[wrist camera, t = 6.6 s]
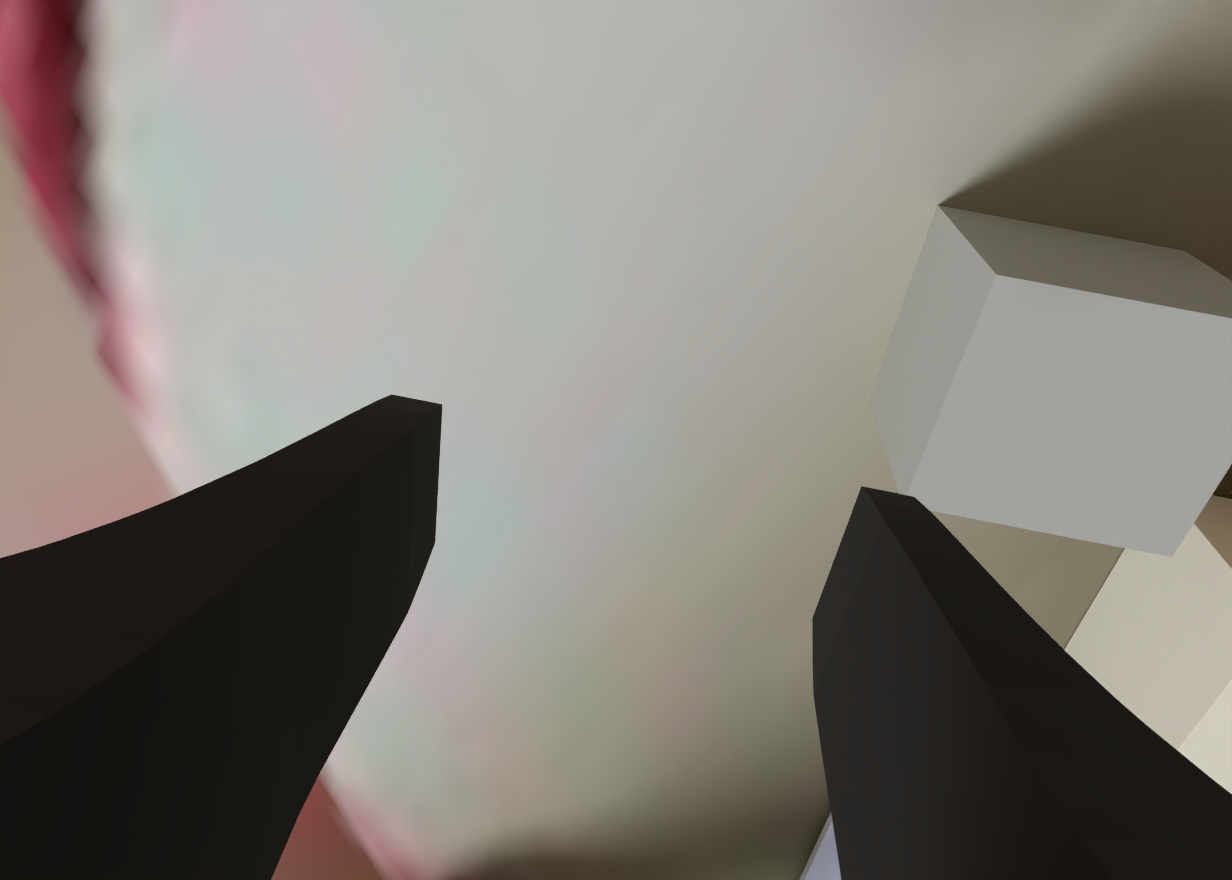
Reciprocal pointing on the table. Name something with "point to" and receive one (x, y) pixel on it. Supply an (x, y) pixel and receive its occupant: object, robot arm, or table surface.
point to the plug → (1059, 382)
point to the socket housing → (1171, 640)
